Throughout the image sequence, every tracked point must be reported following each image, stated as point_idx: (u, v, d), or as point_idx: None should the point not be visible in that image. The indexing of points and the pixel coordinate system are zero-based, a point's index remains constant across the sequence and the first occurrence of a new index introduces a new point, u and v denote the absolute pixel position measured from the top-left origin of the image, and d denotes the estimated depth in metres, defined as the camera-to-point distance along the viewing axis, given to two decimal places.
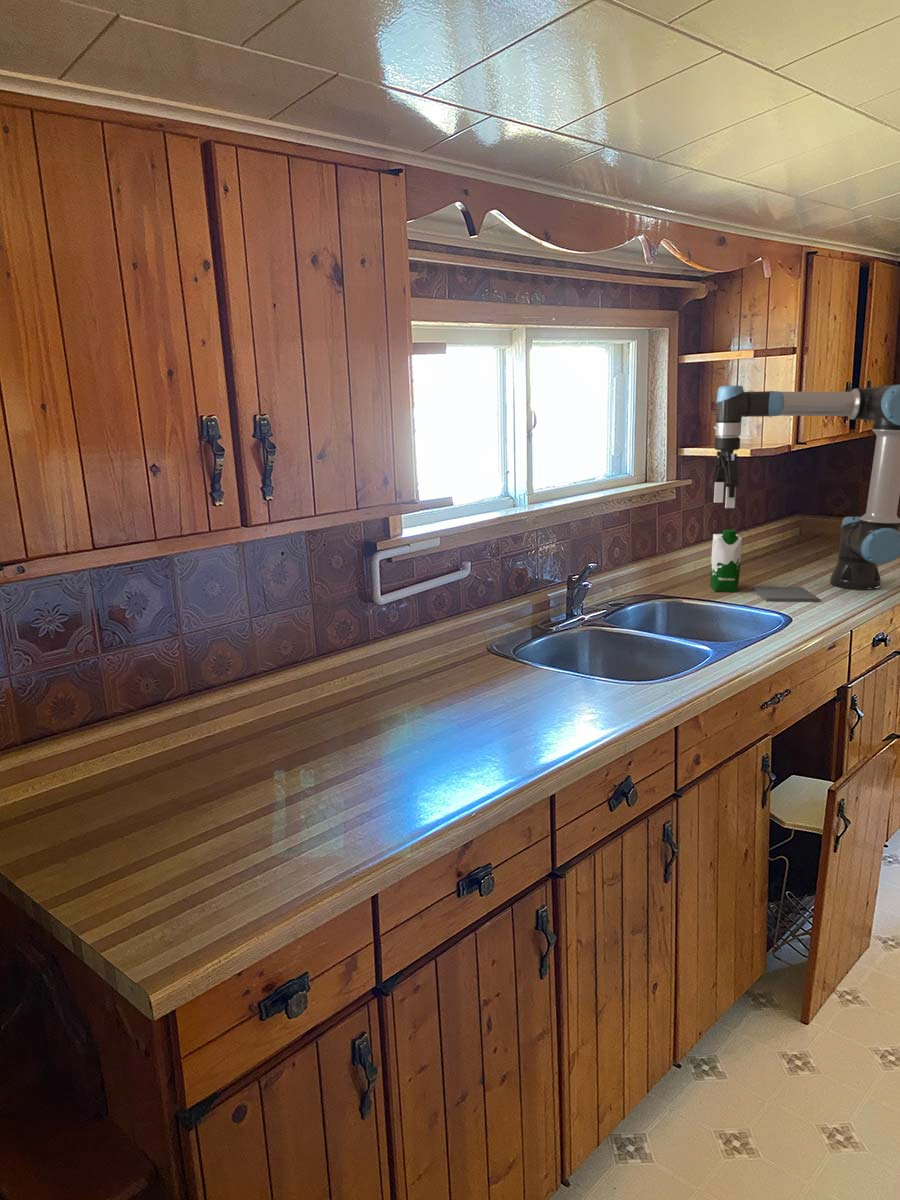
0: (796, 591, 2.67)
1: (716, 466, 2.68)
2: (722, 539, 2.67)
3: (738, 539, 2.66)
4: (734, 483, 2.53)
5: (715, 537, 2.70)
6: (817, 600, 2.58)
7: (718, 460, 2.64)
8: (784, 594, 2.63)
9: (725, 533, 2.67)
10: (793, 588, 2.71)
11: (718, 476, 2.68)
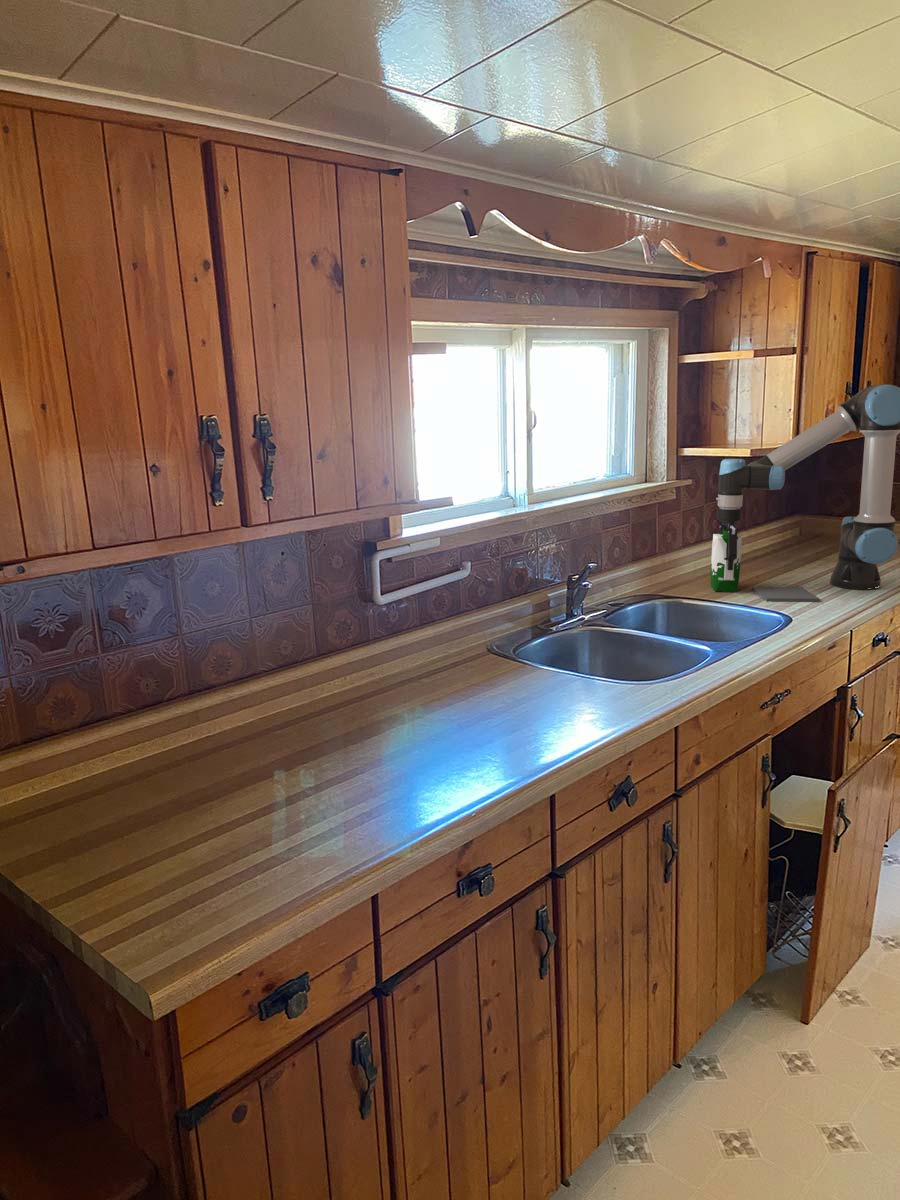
0: (796, 591, 2.67)
1: None
2: (722, 539, 2.67)
3: (738, 539, 2.66)
4: (732, 557, 2.64)
5: (715, 537, 2.70)
6: (817, 600, 2.58)
7: (720, 530, 2.73)
8: (784, 594, 2.63)
9: (725, 533, 2.67)
10: (793, 588, 2.71)
11: None
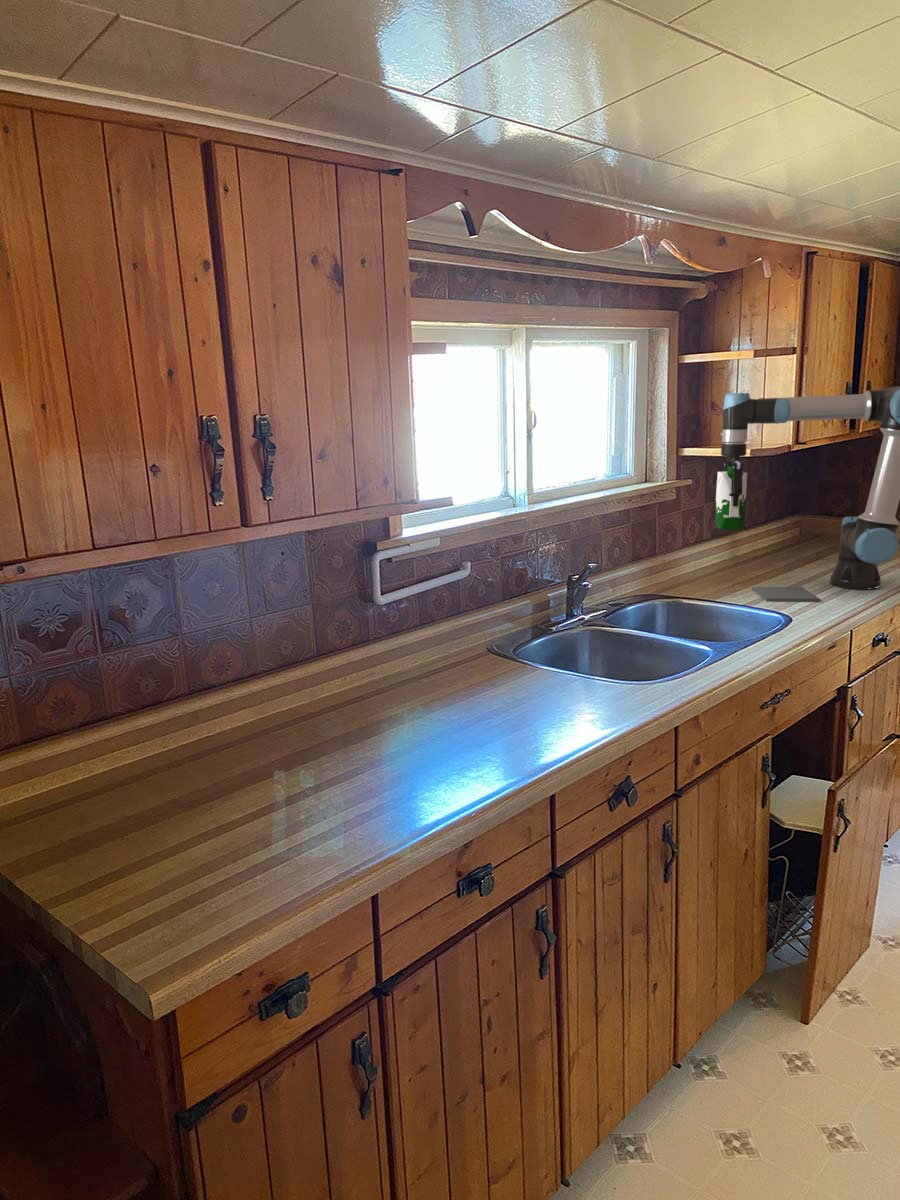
0: (796, 591, 2.67)
1: None
2: (727, 475, 2.62)
3: (743, 475, 2.62)
4: (738, 492, 2.59)
5: (720, 474, 2.65)
6: (817, 600, 2.58)
7: (725, 467, 2.68)
8: (784, 594, 2.63)
9: (730, 469, 2.62)
10: (793, 588, 2.71)
11: None
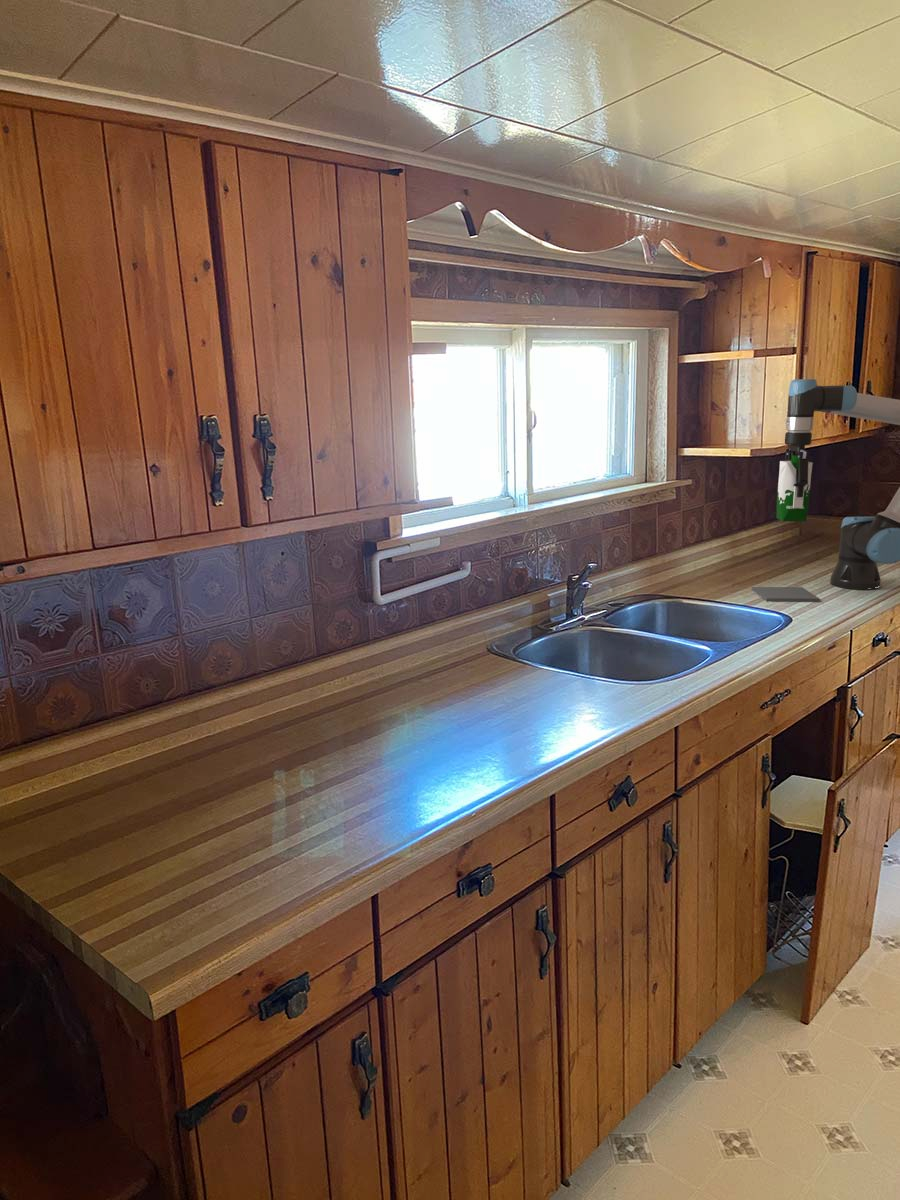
0: (796, 591, 2.67)
1: None
2: (791, 464, 2.52)
3: (808, 464, 2.52)
4: (803, 482, 2.49)
5: (783, 463, 2.56)
6: (817, 600, 2.58)
7: (788, 456, 2.58)
8: (784, 594, 2.63)
9: (794, 458, 2.52)
10: (793, 588, 2.71)
11: None
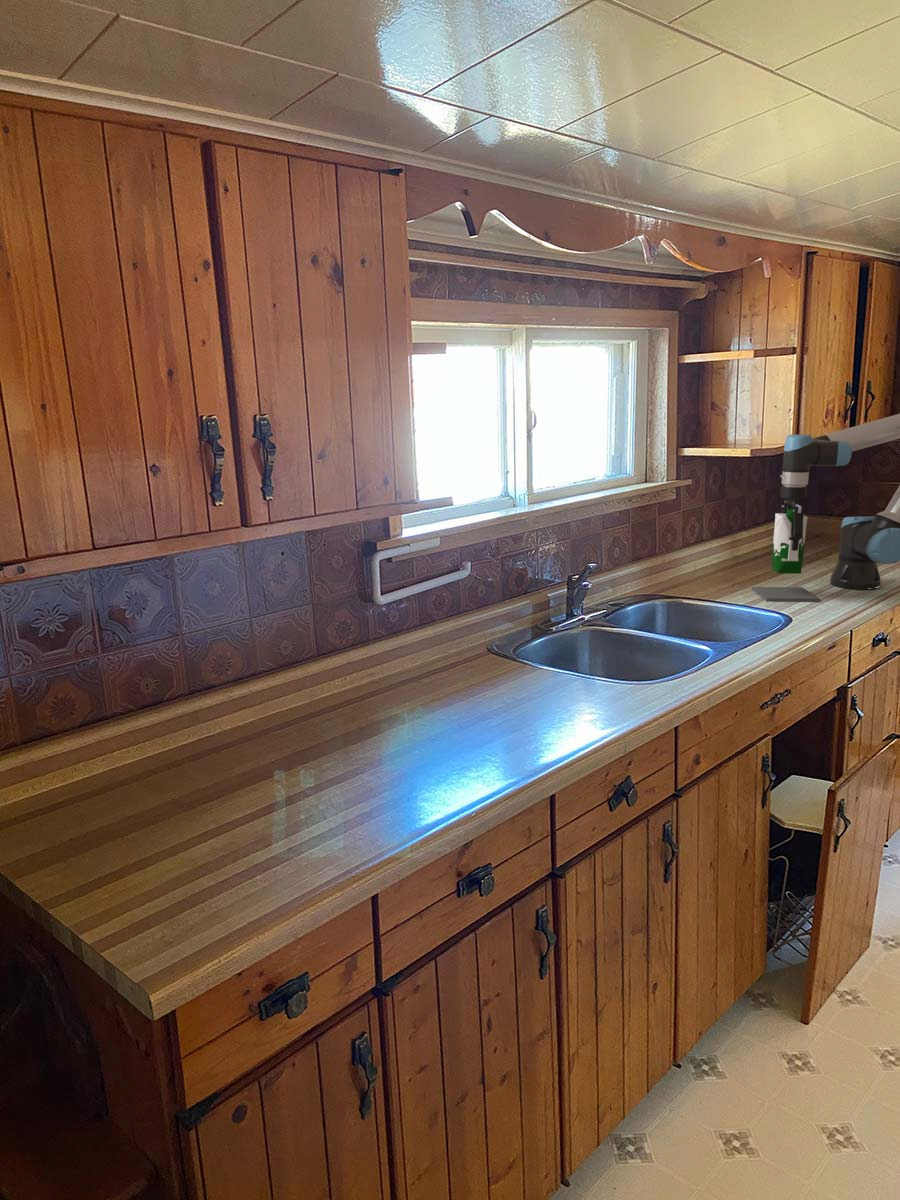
0: (796, 591, 2.67)
1: None
2: (786, 518, 2.56)
3: (803, 518, 2.56)
4: (798, 537, 2.53)
5: (778, 516, 2.59)
6: (817, 600, 2.58)
7: (783, 509, 2.62)
8: (784, 594, 2.63)
9: (790, 512, 2.56)
10: (793, 588, 2.71)
11: None
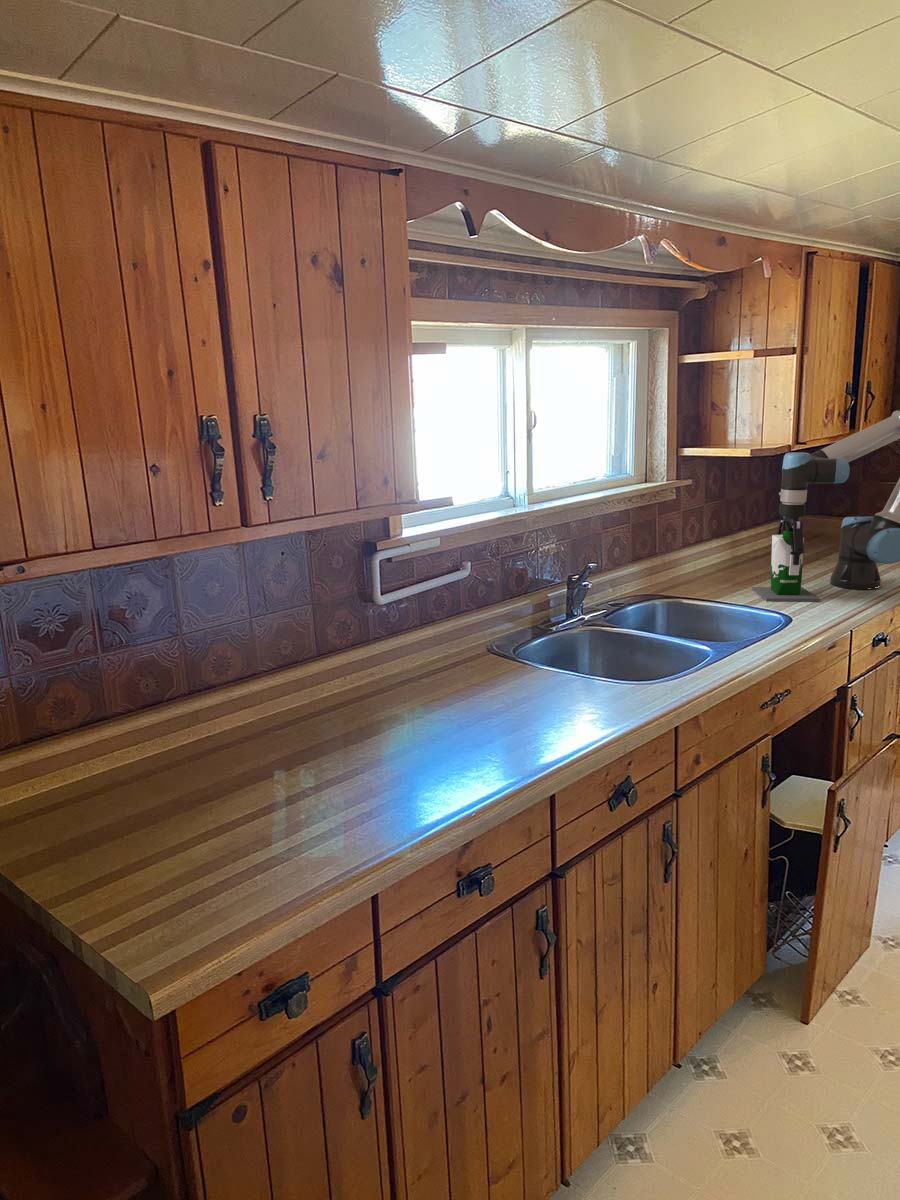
0: None
1: (779, 530, 2.68)
2: (783, 540, 2.58)
3: None
4: (799, 551, 2.52)
5: (775, 538, 2.61)
6: (817, 600, 2.58)
7: (782, 525, 2.63)
8: None
9: (786, 534, 2.58)
10: None
11: None
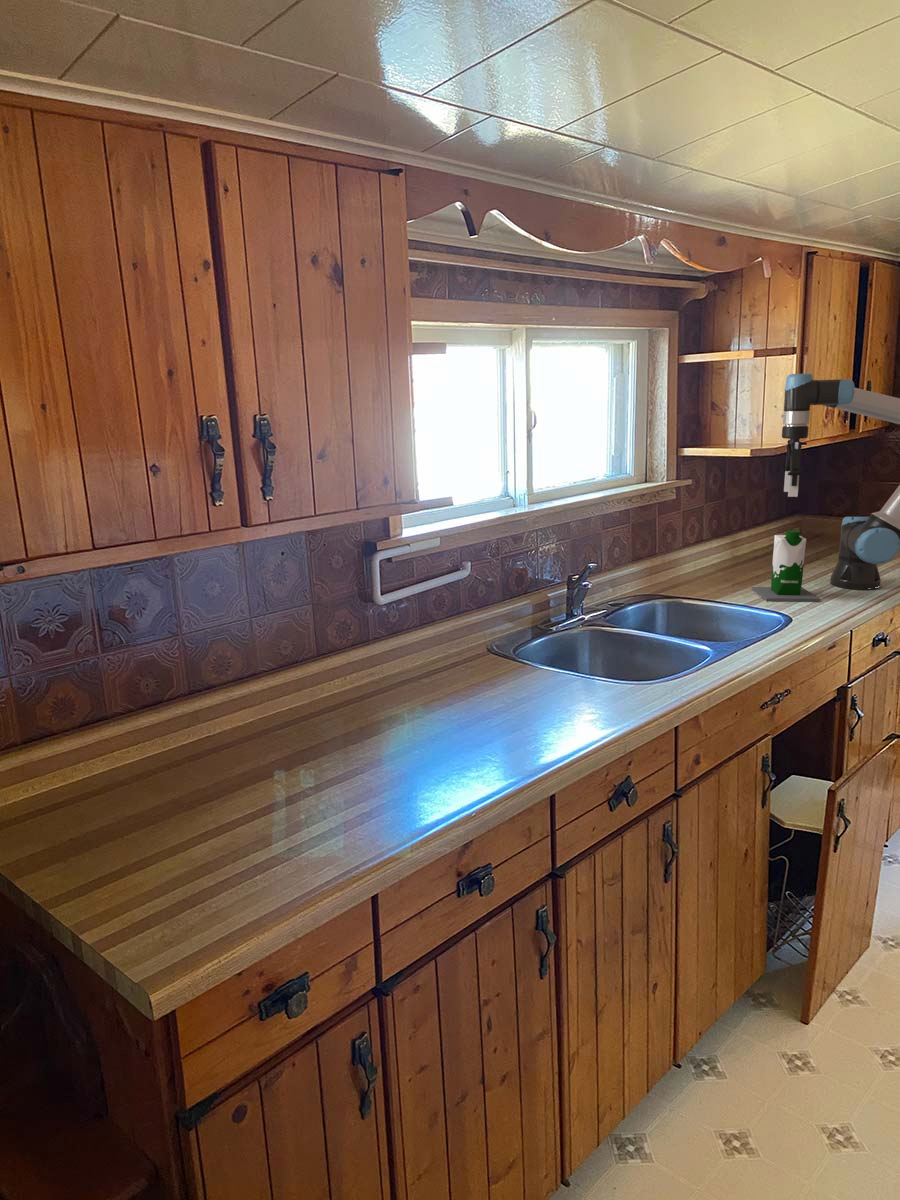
0: None
1: (787, 455, 2.68)
2: (785, 540, 2.58)
3: (802, 540, 2.57)
4: (795, 471, 2.52)
5: (777, 538, 2.61)
6: (817, 600, 2.58)
7: (787, 449, 2.63)
8: None
9: (789, 534, 2.58)
10: None
11: (788, 465, 2.67)
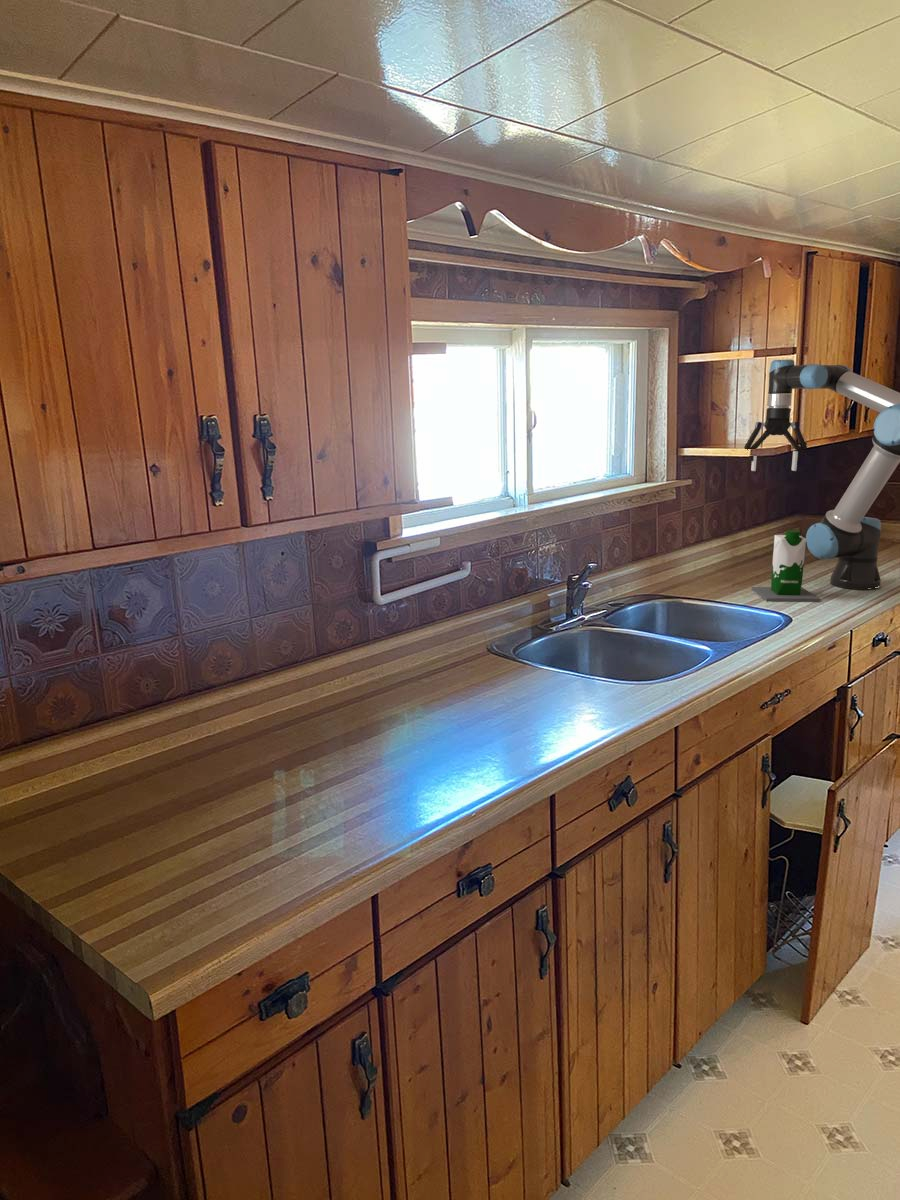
0: None
1: (796, 436, 2.85)
2: (785, 540, 2.58)
3: (802, 540, 2.57)
4: (745, 447, 2.86)
5: (777, 538, 2.61)
6: (817, 600, 2.58)
7: None
8: None
9: (789, 534, 2.58)
10: None
11: (792, 445, 2.85)
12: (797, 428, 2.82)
